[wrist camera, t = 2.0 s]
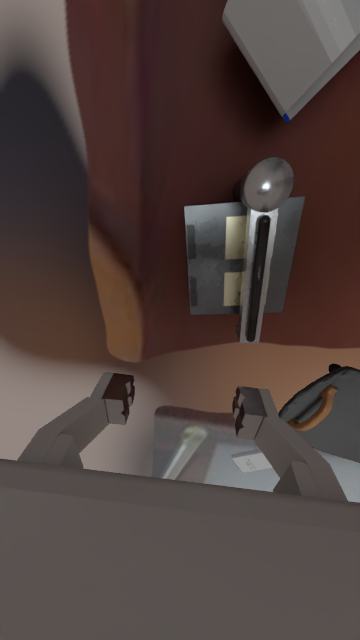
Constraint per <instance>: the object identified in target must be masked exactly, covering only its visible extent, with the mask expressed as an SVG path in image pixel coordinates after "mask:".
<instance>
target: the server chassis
mask: <svg viewBox="0 0 360 640" xmlns="http://www.w3.org/2000/svg"><path fill="white" fill-rule="evenodd" d="M241 182H242V180H241V181H239V182H238V183H237V184H236V185H235V187H234V189H233V196H234V198H235V200H236V201H231V202H219V203H208V204H196V205H187V206H185V207H184V210H185V228H186V246H187V263H188V281H189V298H190V315H207V314H239V312H240V299H241V286H242V273H243V260H244V247H245V234H246V222H247V209H248V208H247V207H246V206H245V205H244V204H243V202H242V200H241V197H240V185H241ZM304 200H305V196H304V197H288V198H287V200H286V201H285V202H284V203H283V204H282V205H281V206H280V207H279V208H278V213H277V220H276V227H275V234H274V241H273V248H272V255H271V262H270V269H269V276H268V283H267V290H266V297H265V304H264V311H263V313H277V312H283V307H284V302H285V297H286V292H287V286H288V281H289V276H290V271H291V266H292V261H293V256H294V251H295V246H296V240H297V235H298V230H299V225H300V220H301V215H302V210H303V205H304Z"/></svg>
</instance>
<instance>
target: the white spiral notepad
mask: <svg viewBox="0 0 360 640" xmlns="http://www.w3.org/2000/svg"><path fill="white" fill-rule="evenodd" d="M232 459H233V460H234V462H235V463H236V464H237V465H238V466H239V468H240V469H241V470H242V471H243V472H250V471H256V470H262V469H268V468H273V467H272V466H271V464H270V463H269V461H268V460H267V459H266V457H265V456H264V454H263V453H262V451H261V450H260V449H258V450H253V451H248V452H243V453H238V454H233V455H232Z"/></svg>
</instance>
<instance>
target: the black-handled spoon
mask: <svg viewBox="0 0 360 640" xmlns="http://www.w3.org/2000/svg"><path fill="white" fill-rule="evenodd" d="M293 182H294V176H293V171H292V169H291V167H290V165H289V164H288V163H287V162H286V161H285V160H283V159H281V158H276V157H272V158H268V159H265V160H263V161H261V162H260V163H258V164H256V165H255V166H253V167H252V168H251V169H249V170H248V171H247V173H246V174H245V176H244V177H243V179H242V182H241V185H240V197H241V200H242V202H243V204H244V205H245V206H246V207H247V208H248V209H247V222H246V234H245V247H244V260H243V273H242V286H241V299H240V312H239V324H238V326H236V334H237V337H238V341H239V343H259V339H260V332H261V325H262V318H263V311H264V304H265V297H266V290H267V283H268V276H269V269H270V262H271V255H272V248H273V241H274V234H275V227H276V220H277V213H278V208H279V207H280V206H281V205H282V204H283V203H284V202H285V201H286V200H287V198H288V197H289V195H290V193H291V191H292V188H293Z"/></svg>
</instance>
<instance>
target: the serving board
mask: <svg viewBox="0 0 360 640" xmlns="http://www.w3.org/2000/svg"><path fill="white" fill-rule="evenodd" d="M329 372H330V373H329V374H326V375H325V376H323V377H321V378H319V379H317V380H316V381H315V382H312V383H311V384H309V385H308V386H306V387H305V388H304V389H302V390H301V391H299V392H298V393H296V394H295V395H294V396H293V397H292V398H291V399H290V400H289V401H288V402H287V403H286V404H285V405H284V406H283V408H282V409H281V410H280V412H279V414H278V415H279V418H280V419H283V420H284V421H285V422H287V423H288V424H289V425H290V426H291V427H292V428H293V429H294V430H295V431H296V432H297V433H298V434H299V435H300V436H301V437H302V438H303V439H304V440H305V441H306V442H307V443H308V444H309V445H310V446H311V447H312V448H315V449H317V450H320V451H322V452H326V453H330V454H332V455H336V456H339V457H342V458H346V459H348V460H353V461H355V462H359V463H360V370H358V369H355V368H352V367H348V366H345V367H341V366H340V365H337V364H330V365H329Z"/></svg>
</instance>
